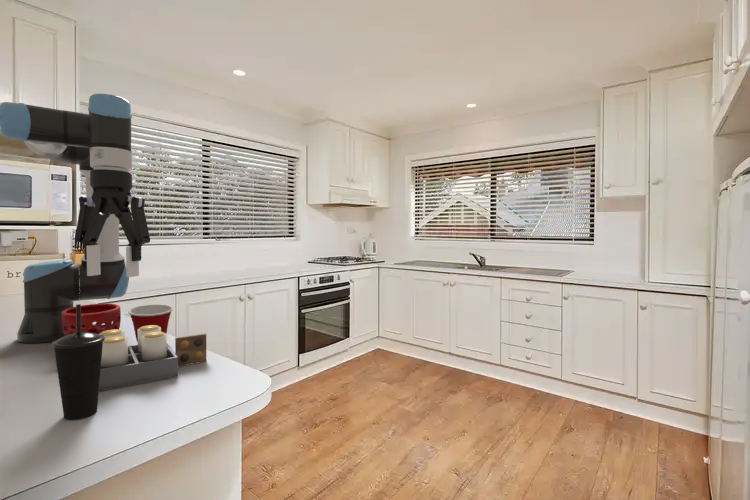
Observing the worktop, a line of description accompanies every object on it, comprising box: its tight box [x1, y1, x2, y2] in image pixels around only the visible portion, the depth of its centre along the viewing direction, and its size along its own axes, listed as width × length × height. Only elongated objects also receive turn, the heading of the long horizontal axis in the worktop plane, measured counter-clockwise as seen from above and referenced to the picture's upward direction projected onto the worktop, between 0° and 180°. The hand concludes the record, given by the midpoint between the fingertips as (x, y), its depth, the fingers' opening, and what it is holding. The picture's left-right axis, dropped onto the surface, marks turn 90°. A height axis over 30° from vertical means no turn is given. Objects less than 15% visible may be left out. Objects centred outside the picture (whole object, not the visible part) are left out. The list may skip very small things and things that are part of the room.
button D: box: [142, 332, 168, 361], centre depth 91 cm, size 5×5×5 cm
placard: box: [174, 333, 207, 367], centre depth 100 cm, size 1×7×7 cm, turn 127°
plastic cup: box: [127, 303, 174, 344], centre depth 109 cm, size 11×11×12 cm
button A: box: [99, 328, 126, 339], centre depth 93 cm, size 5×5×5 cm
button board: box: [99, 343, 179, 392], centre depth 92 cm, size 16×16×4 cm
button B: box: [137, 325, 161, 352], centre depth 98 cm, size 5×5×5 cm
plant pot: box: [61, 303, 122, 336], centre depth 109 cm, size 13×13×12 cm
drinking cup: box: [51, 304, 105, 421], centre depth 72 cm, size 8×8×20 cm
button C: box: [101, 336, 129, 367], centre depth 87 cm, size 5×5×5 cm
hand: (113, 275), depth 86 cm, fingers open, 9 cm apart
